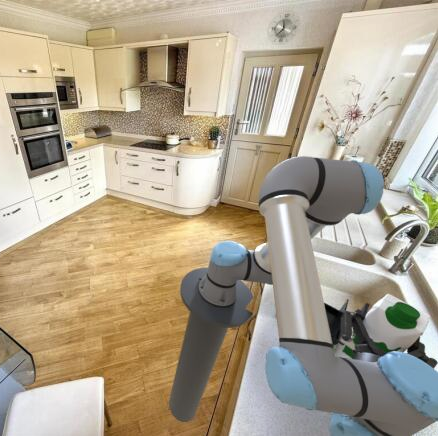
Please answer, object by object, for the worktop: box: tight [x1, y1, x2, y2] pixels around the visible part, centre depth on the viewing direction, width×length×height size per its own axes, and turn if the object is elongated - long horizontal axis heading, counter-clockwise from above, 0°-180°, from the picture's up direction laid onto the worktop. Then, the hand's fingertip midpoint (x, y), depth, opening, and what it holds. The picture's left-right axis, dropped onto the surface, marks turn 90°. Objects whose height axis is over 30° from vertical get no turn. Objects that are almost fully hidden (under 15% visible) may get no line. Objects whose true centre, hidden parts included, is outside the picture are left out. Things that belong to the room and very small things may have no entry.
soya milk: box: [342, 293, 431, 359], centre depth 57 cm, size 9×9×20 cm
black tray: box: [324, 298, 349, 351], centre depth 84 cm, size 18×16×11 cm
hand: (388, 319), depth 59 cm, fingers closed on soya milk, 9 cm apart
